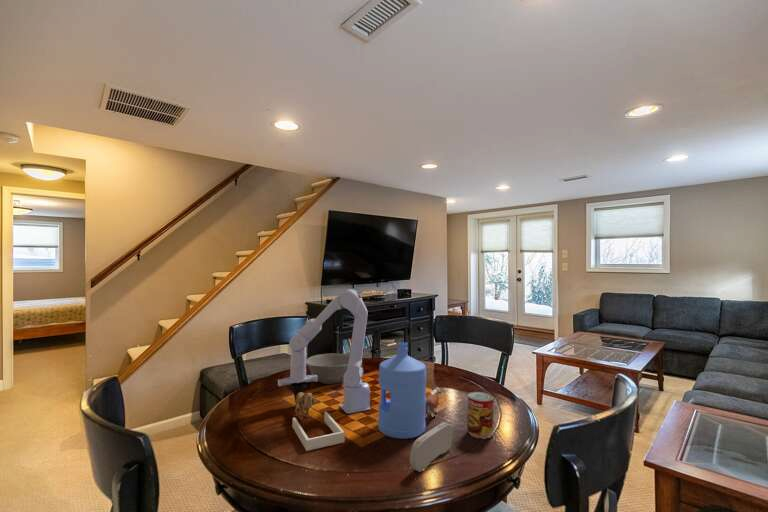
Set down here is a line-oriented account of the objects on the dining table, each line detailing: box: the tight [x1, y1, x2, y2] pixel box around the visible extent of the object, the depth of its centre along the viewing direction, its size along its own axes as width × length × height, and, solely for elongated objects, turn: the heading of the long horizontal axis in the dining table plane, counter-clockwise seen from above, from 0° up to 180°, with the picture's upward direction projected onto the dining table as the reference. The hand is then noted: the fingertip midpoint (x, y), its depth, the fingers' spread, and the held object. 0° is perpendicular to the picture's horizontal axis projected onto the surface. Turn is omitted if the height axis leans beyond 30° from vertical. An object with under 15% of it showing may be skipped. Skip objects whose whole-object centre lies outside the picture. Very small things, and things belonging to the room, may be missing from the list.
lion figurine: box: [293, 392, 318, 420], centre depth 128 cm, size 15×5×9 cm, turn 36°
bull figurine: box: [425, 387, 443, 419], centre depth 130 cm, size 4×13×8 cm, turn 155°
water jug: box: [377, 341, 427, 440], centre depth 119 cm, size 16×16×28 cm
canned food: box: [467, 391, 494, 435], centre depth 116 cm, size 8×8×12 cm
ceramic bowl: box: [306, 352, 350, 385], centre depth 165 cm, size 22×23×10 cm
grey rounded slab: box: [409, 421, 454, 473], centre depth 100 cm, size 20×2×8 cm, turn 140°
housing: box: [292, 411, 346, 452], centre depth 113 cm, size 12×17×3 cm
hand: (297, 402), depth 135 cm, fingers closed
